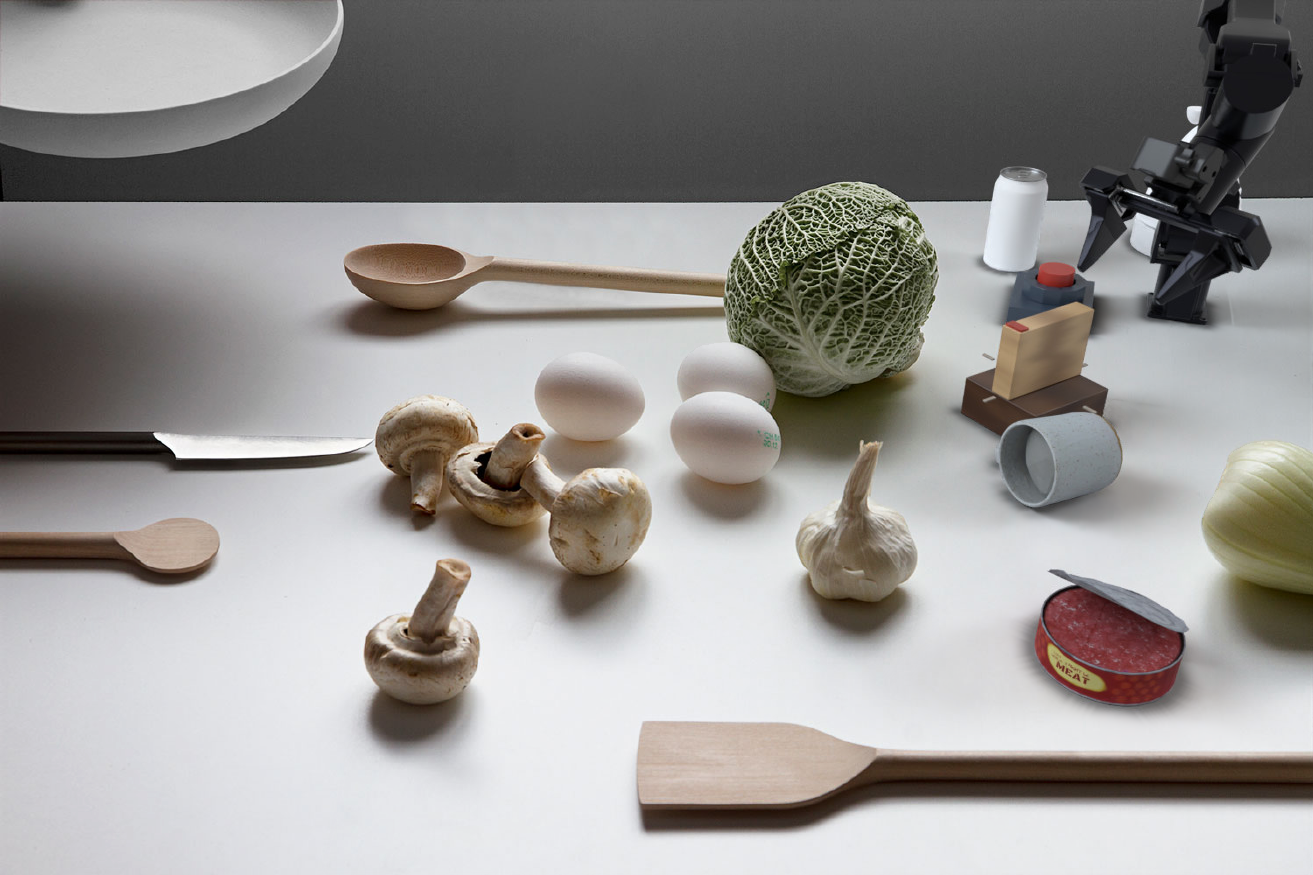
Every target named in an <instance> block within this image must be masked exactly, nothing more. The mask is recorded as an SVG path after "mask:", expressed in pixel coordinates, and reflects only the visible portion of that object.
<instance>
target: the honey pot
mask: <svg viewBox="0 0 1313 875" xmlns="http://www.w3.org/2000/svg"><path fill="white" fill-rule="evenodd" d="M1201 107H1202V105H1190V106H1188V107H1186V108H1187V109H1186V117H1187V120H1188V121H1189V123H1190V124H1192V125H1196V126H1195V127H1193V128H1192V129H1191V130H1190V131H1189V132H1187V134H1185V136H1184V137H1183V138H1182V139H1181V140H1180V141H1185V142H1188V143H1189V142H1190V141H1191V140H1192V138H1193V137H1194V136H1195V134H1196V133H1197V128H1198V123H1199V118H1200V113H1201ZM1237 180H1238V182H1239V183H1240V177H1239V178H1238V179H1237ZM1151 192H1152V189H1151V188H1149V187H1147V189H1146V192H1145V194H1148V195H1150V193H1151ZM1239 192H1240V205H1239V210H1242V211H1243V208H1242V203H1243V199H1242V197H1241V195H1242V187H1241V188H1240V189H1239ZM1157 223H1158V220H1157V219H1154V218H1152V217H1149V216H1146V215H1143V214H1140V213H1137V214H1136V215H1135V216H1134V221H1133V225H1132V230H1131V234H1130V238H1129V242H1130V245H1131V247H1133V248H1134V249H1135V250H1136V251H1138V252H1140V253H1141V254H1142V255H1145V256H1147V257H1150V253H1151V246H1152V241H1153V237H1154V232H1155V229H1156V226H1157ZM1159 246H1160V245H1159Z"/></svg>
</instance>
